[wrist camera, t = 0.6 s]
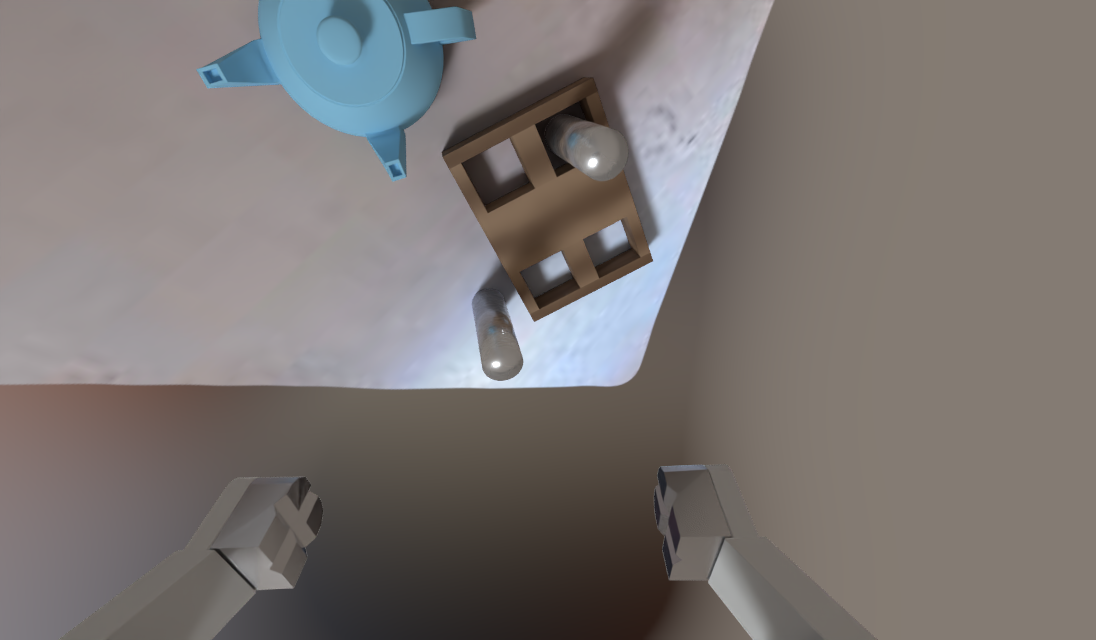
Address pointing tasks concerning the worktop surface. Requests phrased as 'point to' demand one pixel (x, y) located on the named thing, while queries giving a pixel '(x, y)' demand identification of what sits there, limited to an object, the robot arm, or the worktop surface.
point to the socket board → (552, 205)
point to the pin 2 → (587, 146)
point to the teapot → (351, 63)
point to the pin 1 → (496, 336)
